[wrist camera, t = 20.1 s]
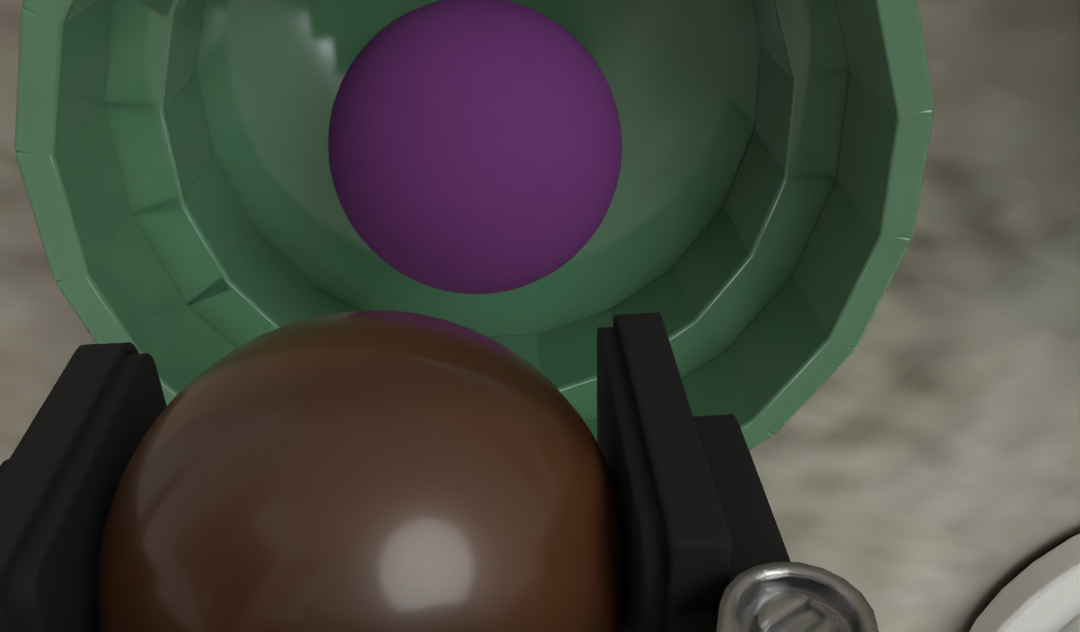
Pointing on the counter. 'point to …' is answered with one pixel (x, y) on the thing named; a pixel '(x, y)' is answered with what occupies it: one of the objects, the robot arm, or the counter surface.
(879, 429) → the counter surface
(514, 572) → the walnut ball
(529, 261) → the plum ball
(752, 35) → the bowl
